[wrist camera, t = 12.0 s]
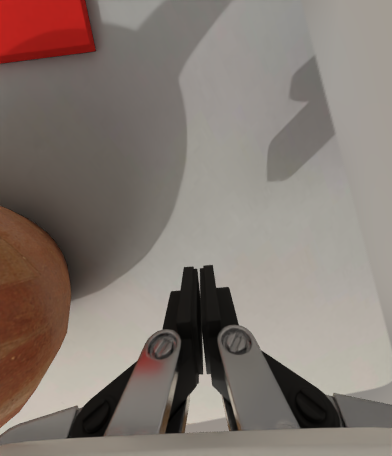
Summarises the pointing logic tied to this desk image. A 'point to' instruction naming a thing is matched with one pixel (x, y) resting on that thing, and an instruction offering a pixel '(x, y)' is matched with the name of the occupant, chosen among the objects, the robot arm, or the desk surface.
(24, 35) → the spatula
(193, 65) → the desk surface
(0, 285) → the jug
